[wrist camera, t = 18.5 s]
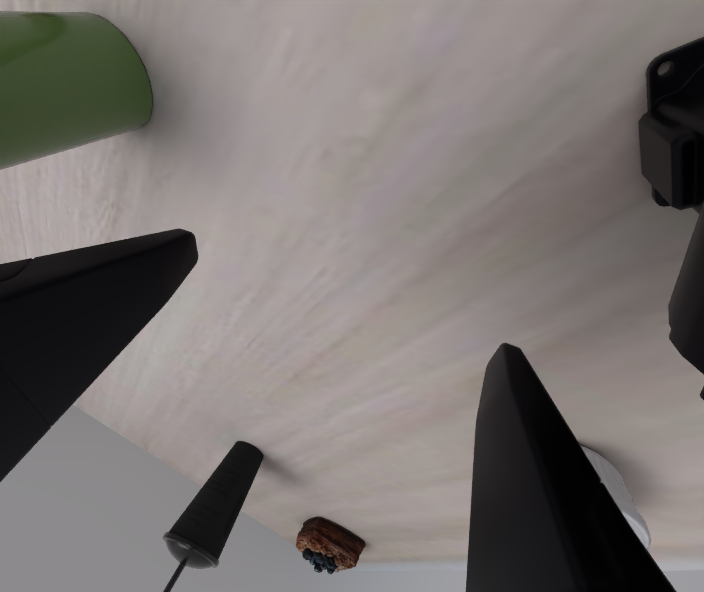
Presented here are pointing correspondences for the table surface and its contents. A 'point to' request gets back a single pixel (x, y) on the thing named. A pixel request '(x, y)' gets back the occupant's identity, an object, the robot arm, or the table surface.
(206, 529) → the drinking cup
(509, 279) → the table surface
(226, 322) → the table surface
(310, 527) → the pastry
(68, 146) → the pickle jar
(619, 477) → the ramekin
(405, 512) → the table surface
